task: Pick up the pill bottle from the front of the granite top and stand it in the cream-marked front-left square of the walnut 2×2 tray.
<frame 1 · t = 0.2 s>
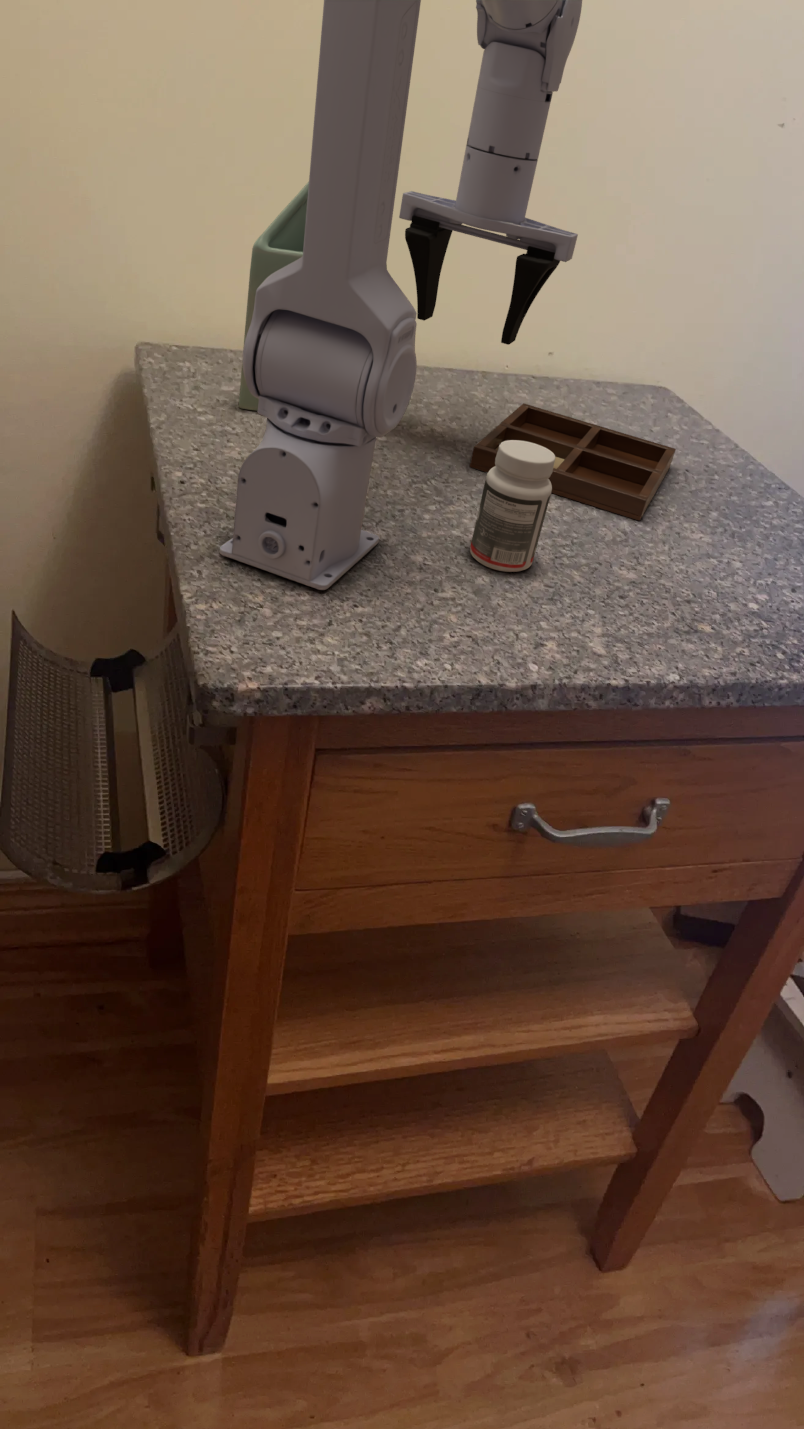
hand: (466, 329, 88), 10 cm above the table, tool pointing down, fingers open, 7 cm apart
pill bottle: (499, 560, 76), on the table
tray: (574, 467, 94), on the table
planter: (329, 409, 96), on the table
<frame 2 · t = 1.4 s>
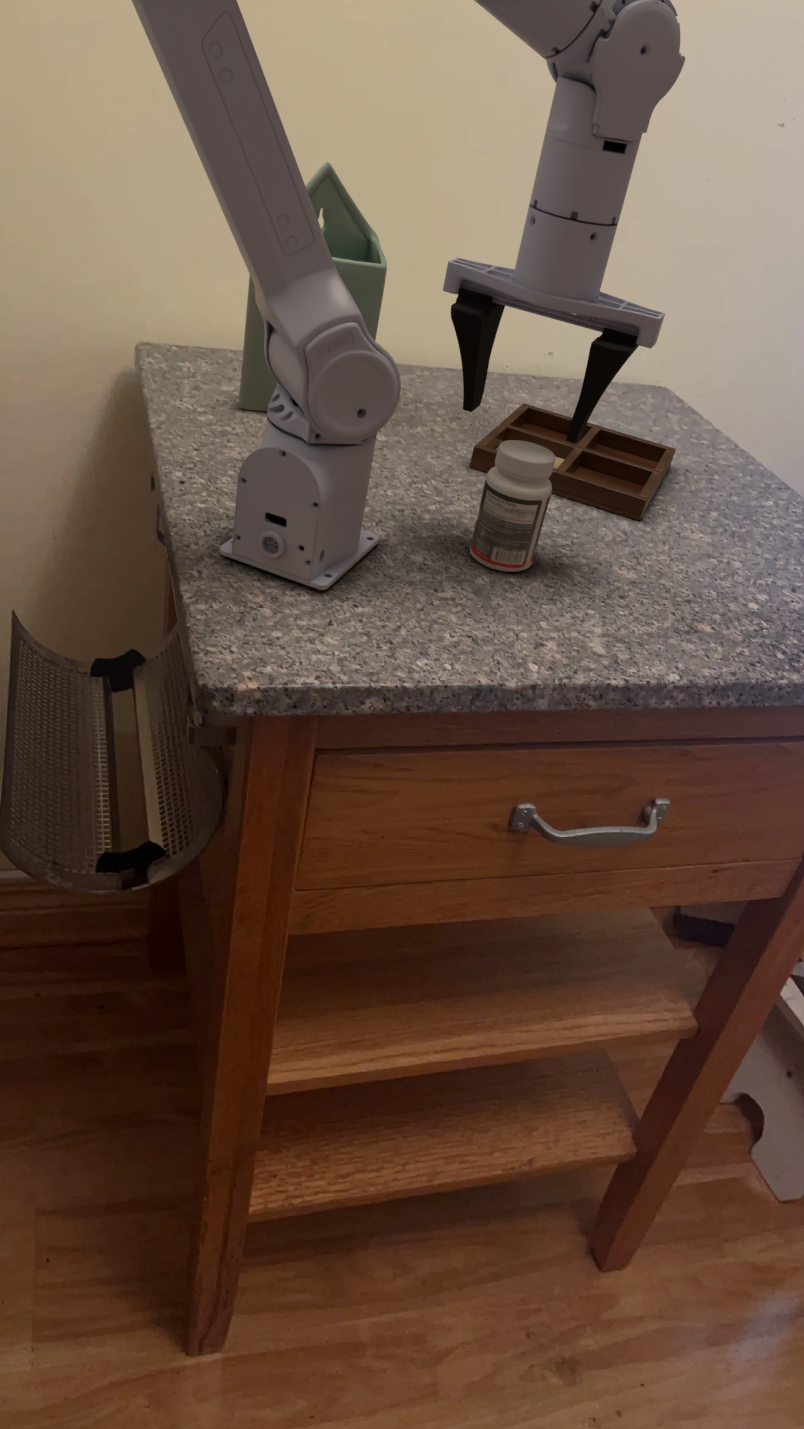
hand: (522, 422, 73), 9 cm above the table, tool pointing down, fingers open, 7 cm apart
nothing on the table moved.
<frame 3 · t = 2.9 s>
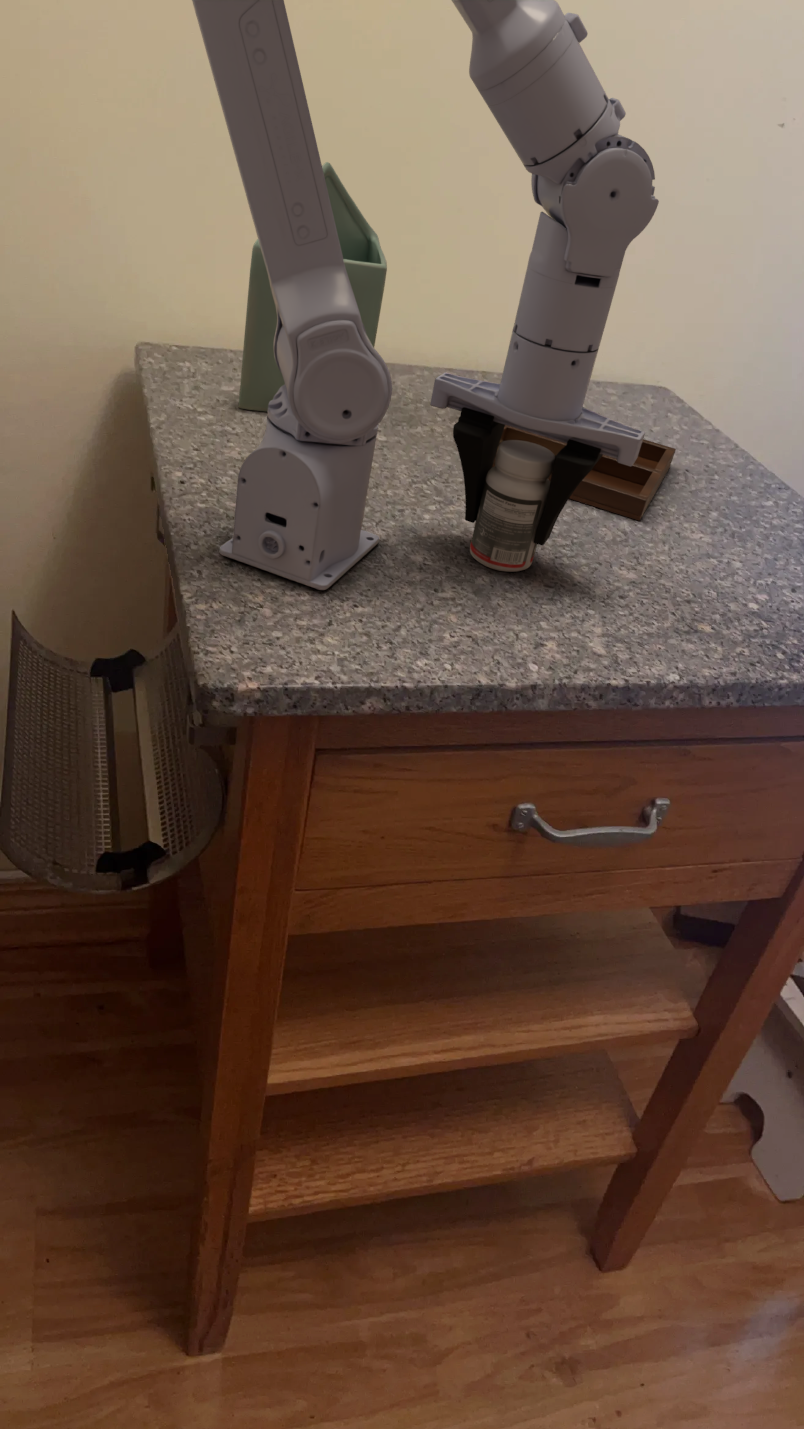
hand: (507, 528, 75), 2 cm above the table, tool pointing down, fingers closed on pill bottle, 5 cm apart
pill bottle: (499, 560, 76), on the table, touching gripper
everything else where it was.
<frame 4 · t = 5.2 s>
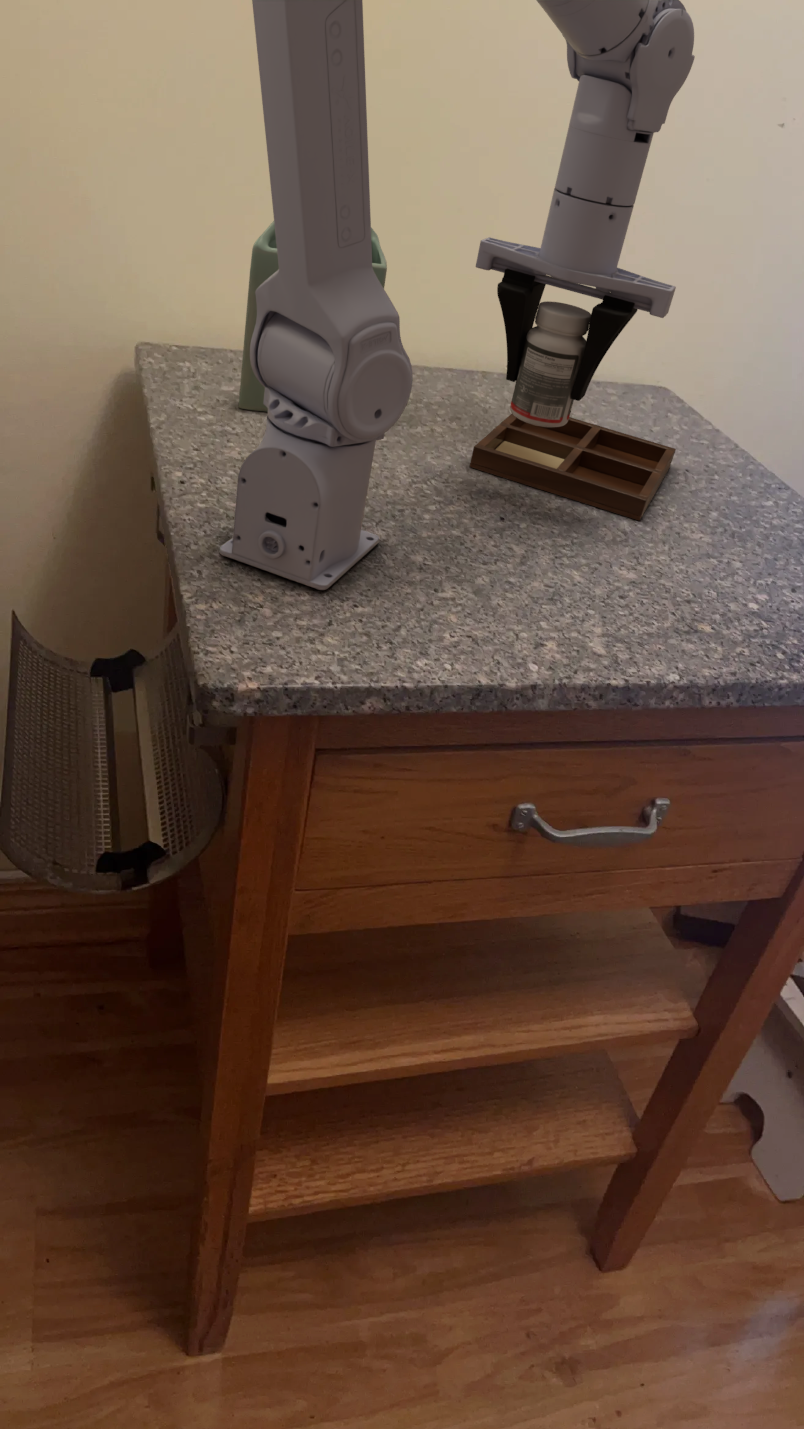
hand: (545, 387, 80), 9 cm above the table, tool pointing down, fingers closed on pill bottle, 5 cm apart
pill bottle: (537, 420, 82), point 7 cm above the table, touching gripper
everything else where it was.
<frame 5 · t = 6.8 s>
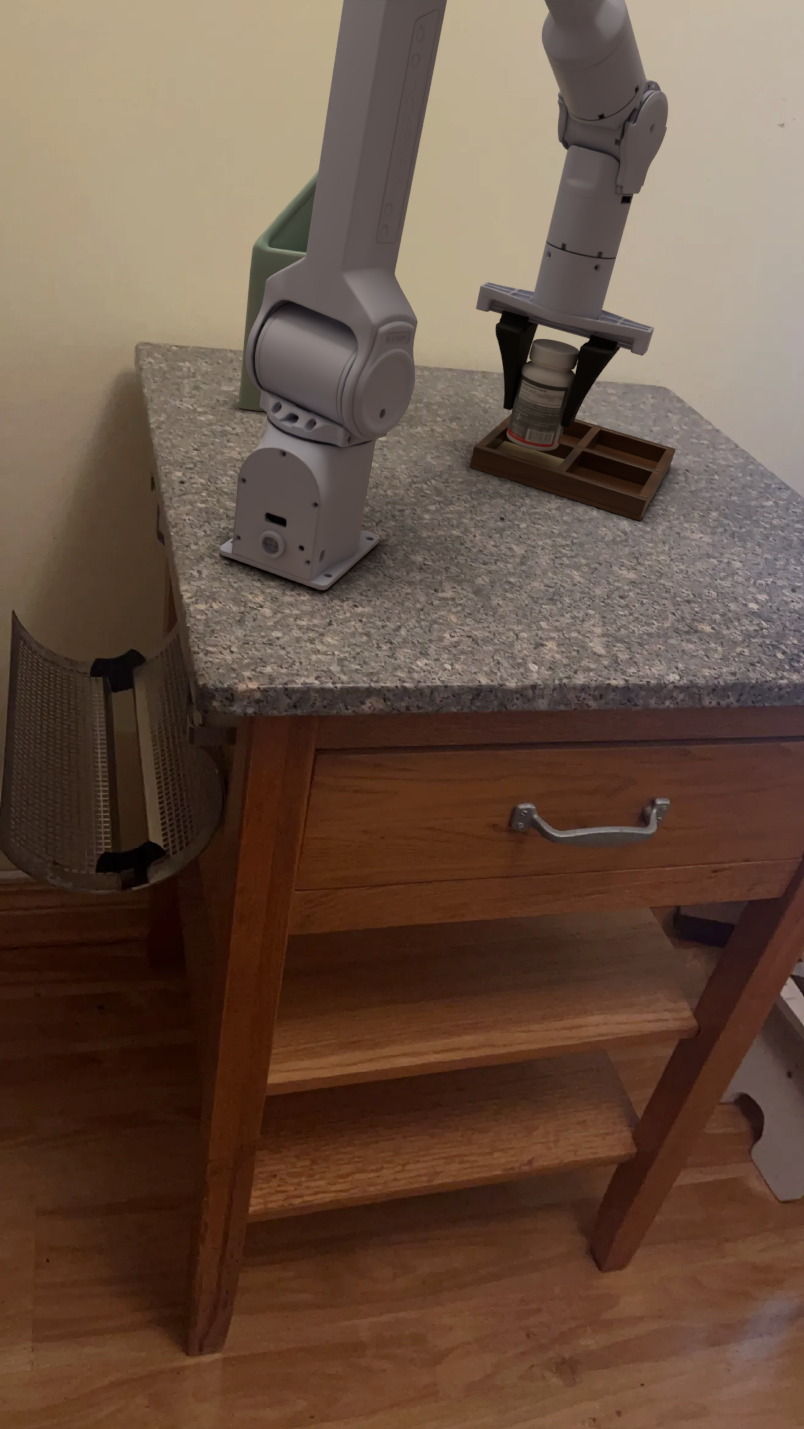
hand: (538, 415, 90), 5 cm above the table, tool pointing down, fingers closed on pill bottle, 5 cm apart
pill bottle: (531, 443, 91), point 2 cm above the table, touching gripper
everything else where it was.
when the fingers open (3 cm above the table, at t = 7.8 s): pill bottle stays where it is, resting on tray.
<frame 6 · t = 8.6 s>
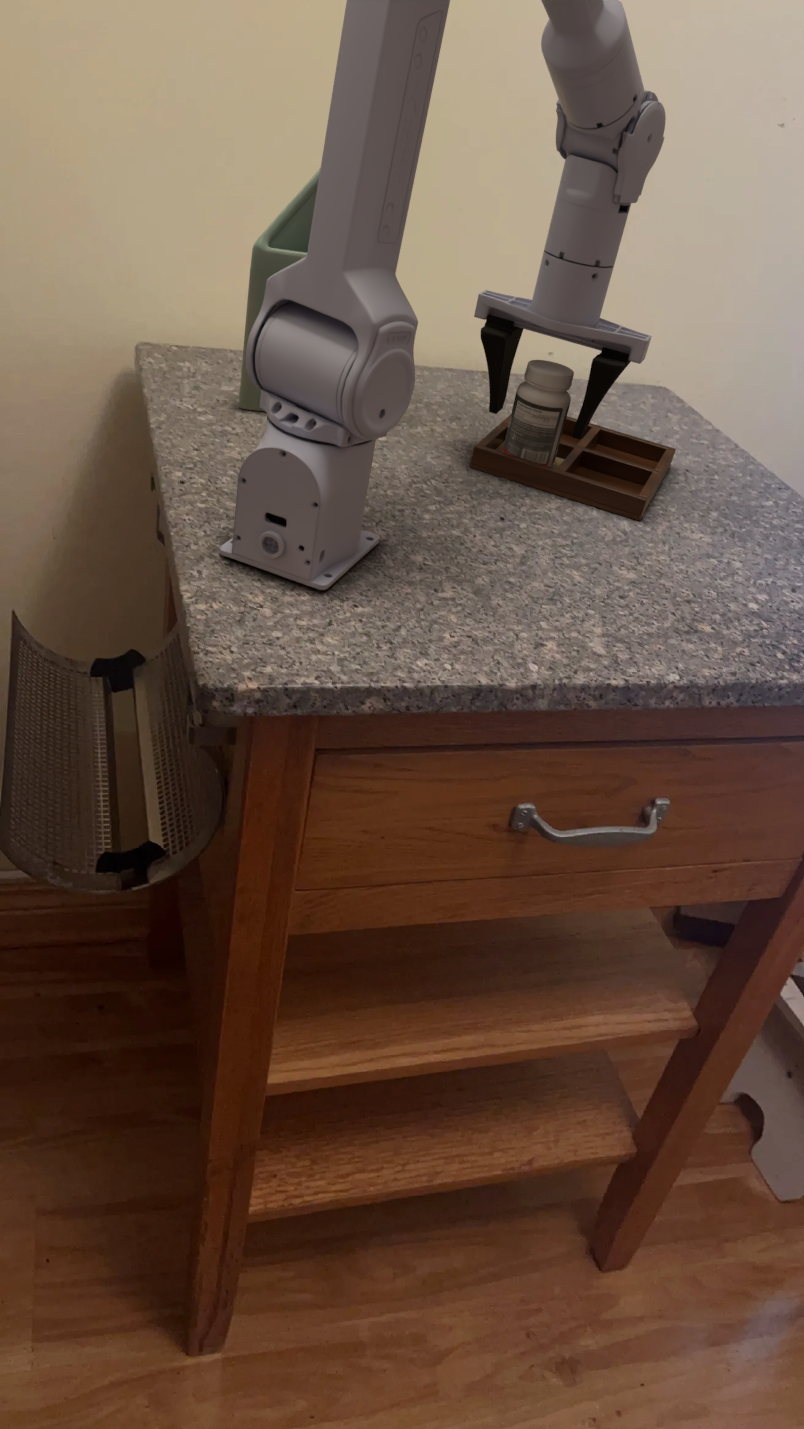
hand: (536, 422, 90), 4 cm above the table, tool pointing down, fingers open, 7 cm apart
pill bottle: (526, 462, 92), resting on tray
everything else where it was.
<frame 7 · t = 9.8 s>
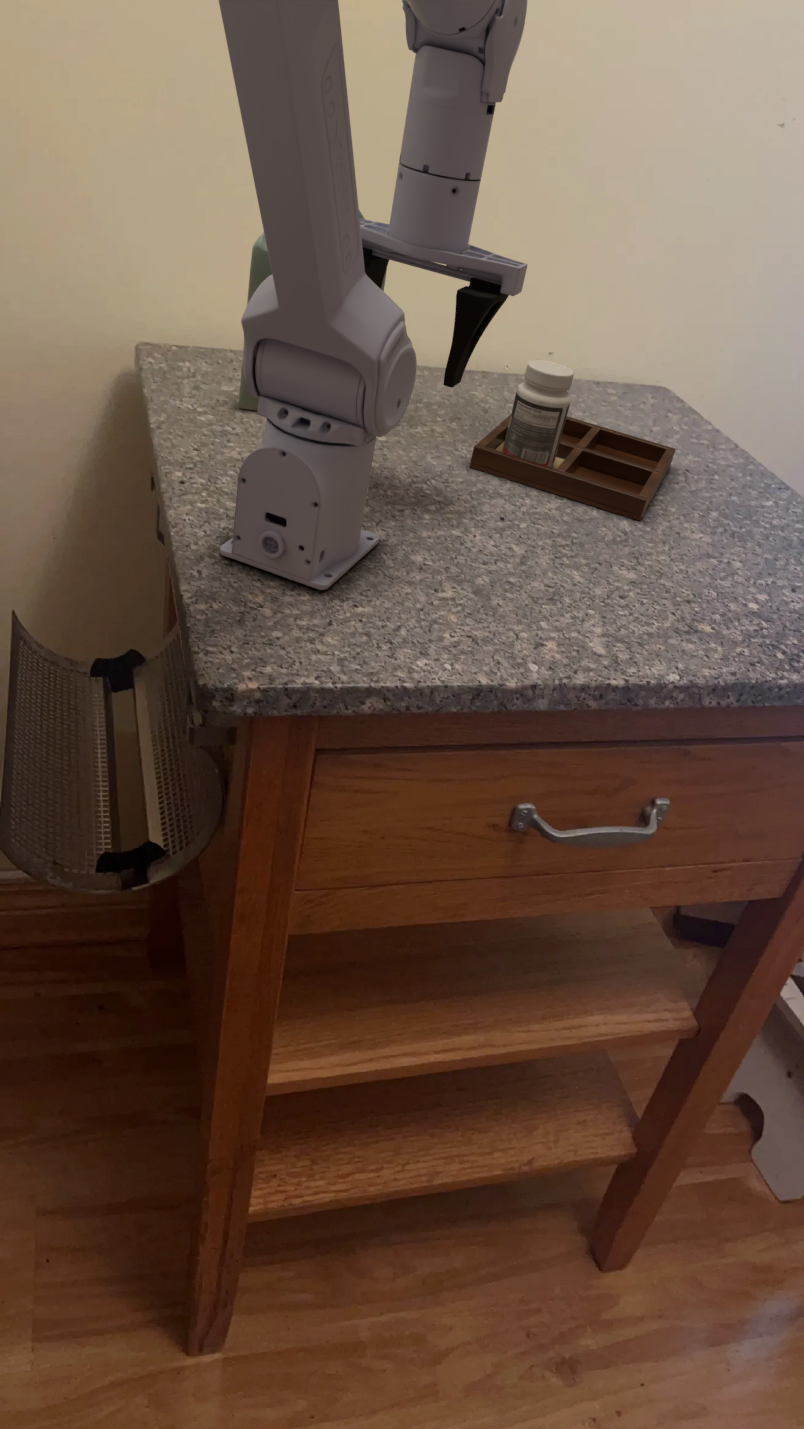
hand: (405, 369, 78), 9 cm above the table, tool pointing down, fingers open, 7 cm apart
nothing on the table moved.
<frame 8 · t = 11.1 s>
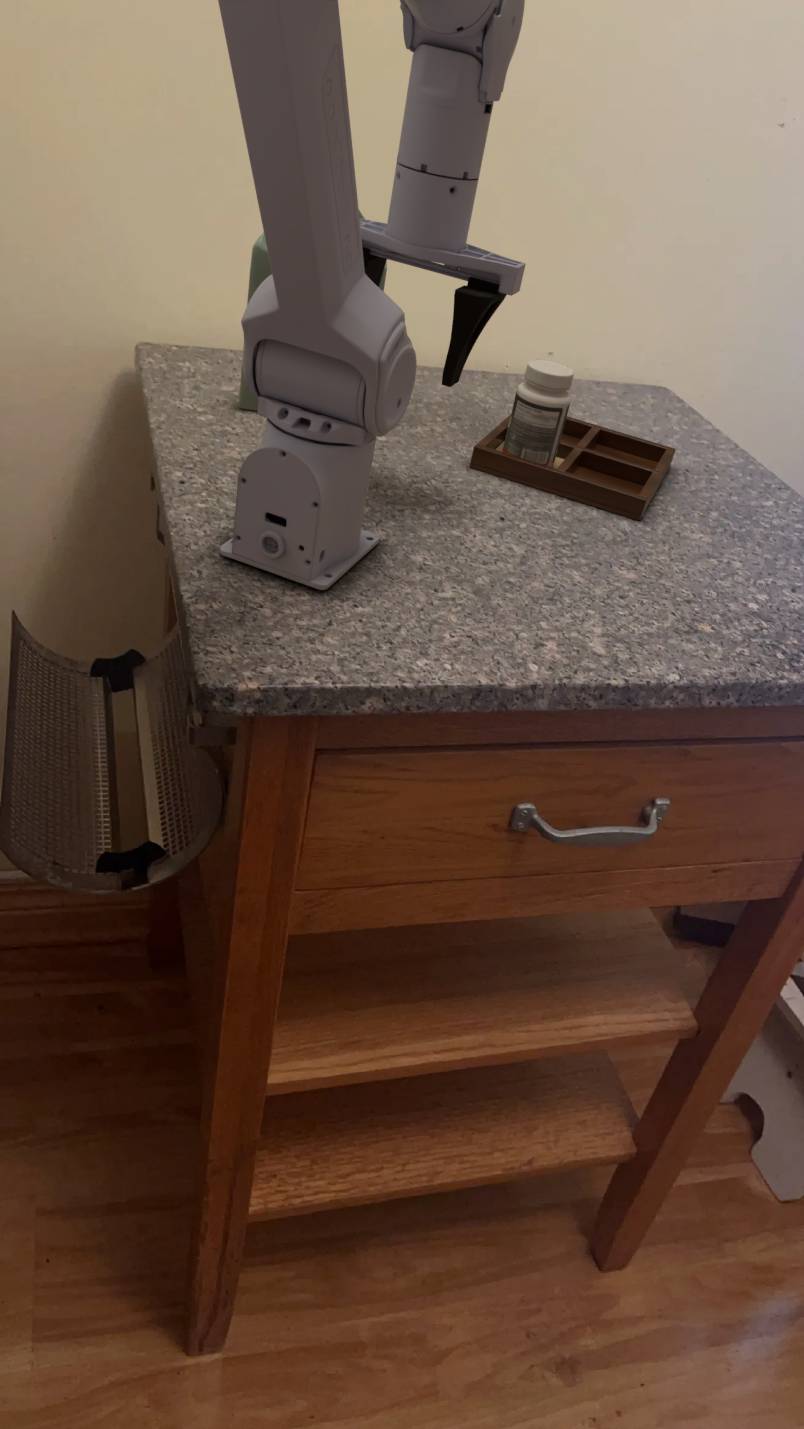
hand: (403, 369, 78), 9 cm above the table, tool pointing down, fingers open, 7 cm apart
nothing on the table moved.
at the end: pill bottle 0.1 cm from the target spot in the tray, point 0.4 cm above the tray's base; pill bottle tilted 0° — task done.
